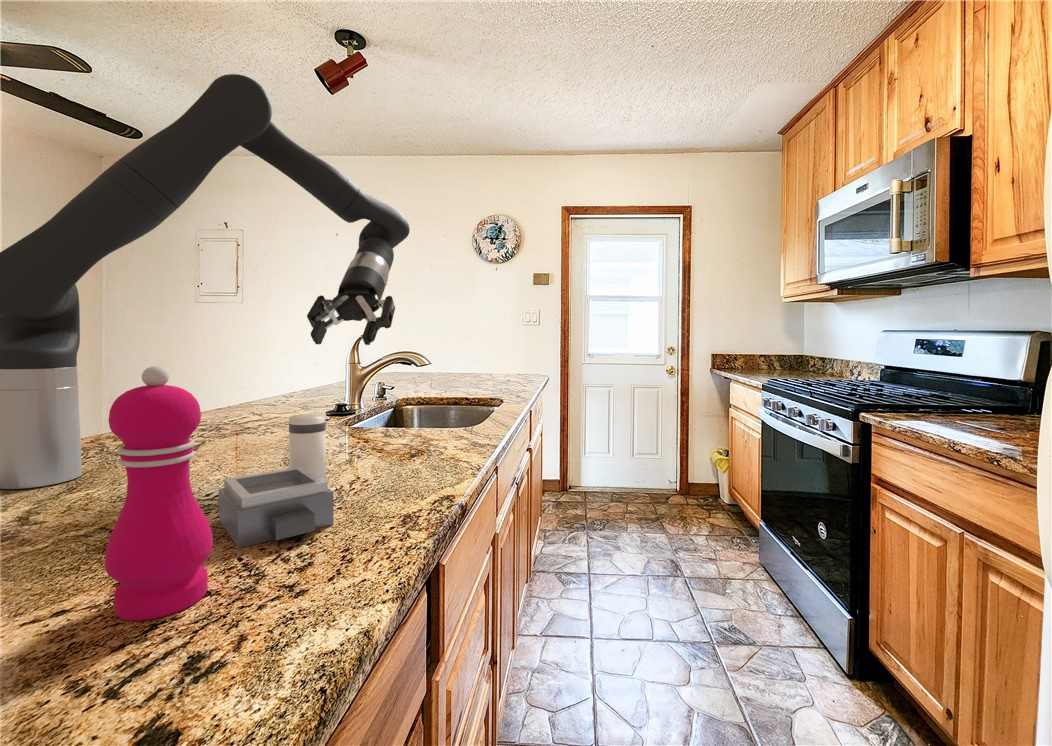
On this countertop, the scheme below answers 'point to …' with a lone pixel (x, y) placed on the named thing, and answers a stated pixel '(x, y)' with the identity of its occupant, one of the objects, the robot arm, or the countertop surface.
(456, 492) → the countertop surface
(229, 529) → the block
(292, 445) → the white banded cylinder
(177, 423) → the pepper mill
